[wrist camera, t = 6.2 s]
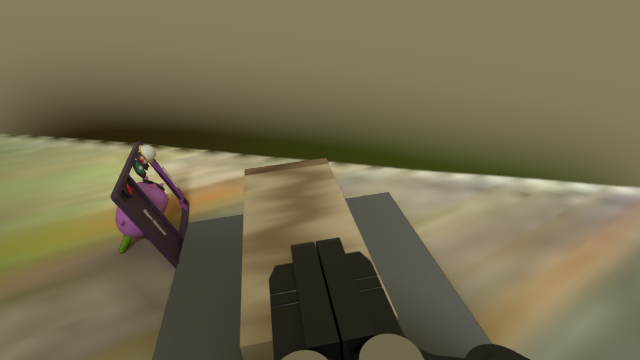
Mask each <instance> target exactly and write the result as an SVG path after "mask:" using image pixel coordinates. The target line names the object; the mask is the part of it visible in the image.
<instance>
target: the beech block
mask: <svg viewBox="0 0 640 360" xmlns="http://www.w3.org/2000/svg"><path fill="white" fill-rule="evenodd" d="M337 237H339V238H340V240H341V242H342V245H343V248H344V251H345V253H351V252H357V251H360V252H361V253H362V254H363V255H364V256H366V257H367V258H368V259H369V260H370V261H371V262H372V264H373V266H374V269H375V271H376V273H377V277H378V278H379V280H380V282H381V284H382V288H383V289H384V291H385V293H386V296H387V298H388V300H389V302H390V305H391V307H392V309H393V311H394V314H395V316H396V318H397V320H398V316H397V314H396V311H395V309H394V307H393V305H392V303H391V300H390V298H389V296H388V294H387V292H386V289H385V287H384V285H383V283H382V280H381V278H380V276H379V274H378V272H377V269H376V267H375V265H374V263H373V261H372V258H371V256H370V254H369V252H368V250H367V247H366V245H365V243H364V241H363V238H362V236H361V234H360V232H359V230H358V227H357V225H356V223H355V221H354V219H353V216H352V214H351V212H350V210H349V208H348V205H347V203H346V201H345V199H344V196H343V194H342V192H341V190H340V188H339V185H338V183H337V181H336V179H335V177H334V174H333V172H332V170H331V168H330V166H329V163H328V161H327V159H326V158H323V159H315V160H308V161H301V162H294V163H287V164H280V165H273V166H265V167H258V168H251V169H245V179H244V215H243V251H242V287H241V323H240V350H241V353H242V357H243V360H274V354H273V338H272V323H271V306H270V291H269V278H270V275H271V273H272V271H273V269H274V267H275V266H276V265H282V264H287V263H293V261H292V254H291V247H290V245H295V244H301V243H308V242H314V243H315V247H316V241H319V240H325V239H331V238H337Z"/></svg>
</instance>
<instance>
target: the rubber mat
mask: <svg viewBox="0 0 640 360" xmlns="http://www.w3.org/2000/svg"><path fill="white" fill-rule="evenodd" d="M345 201H346V203H347V205H348V208H349V210H350V212H351V214H352V216H353V219H354V221H355V223H356V225H357V227H358V230H359V232H360V234H361V236H362V238H363V241H364V243H365V245H366V247H367V250H368V252H369V254H370V256H371V258H372V261H373V263H374V265H375V267H376V269H377V272H378V274H379V276H380V278H381V280H382V283H383V285H384V287H385V289H386V292H387V294H388V296H389V298H390V300H391V303H392V305H393V307H394V309H395V311H396V314H397V316H398V323H399V325H400V327H401V329H402V331H403V333H404V335H405V336H406V338H407V339H408V340H409V341H411V342H412V343H413V344H414V345H415V346H416V347H418V348H419V349H421V350H423V351H425V352H428V353H431V354H434V355H440V356H449V357H458V358H465V357H466V355H467V353H468V352H469V351H470V350H471V349H472V348H474V347H476V346H478V345H482V344H492V343H491V341H490V340H489V339H488V337H487V336H486V334H485V333H484V331H483V330H482V328H481V327H480V325H479V324H478V322H477V321H476V320H475V318H474V317H473V315H472V314H471V312H470V311H469V309H468V308H467V306H466V305H465V303H464V302H463V301H462V299H461V298H460V296H459V295H458V293H457V292H456V290H455V289H454V287H453V286H452V284H451V283H450V281H449V280H448V279H447V277H446V276H445V274H444V273H443V271H442V270H441V268H440V267H439V265H438V264H437V262H436V261H435V260H434V258H433V257H432V255H431V254H430V252H429V251H428V249H427V248H426V246H425V245H424V243H423V242H422V241H421V239H420V238H419V236H418V235H417V233H416V232H415V230H414V229H413V227H412V226H411V224H410V223H409V222H408V220H407V219H406V217H405V216H404V214H403V213H402V211H401V210H400V208H399V207H398V205H397V204H396V202H395V201H394V200H393V198H392V197H391V195H390V194H389V192H387V193H380V194H374V195H367V196H361V197H354V198H348V199H345ZM242 251H243V215H237V216H231V217H224V218H218V219H211V220H205V221H198V222H192V223H188V226H187V230H186V233H185V237H184V241H183V245H182V249H181V252H180V256H179V260H178V261H179V264H177V268H176V271H175V275H174V279H173V283H172V287H171V290H170V294H169V298H168V302H167V306H166V309H165V313H164V317H163V321H162V325H161V328H160V332H159V336H158V340H157V344H156V347H155V351H154V355H153V359H152V360H243V357H242V353H241V350H240V323H241V287H242Z"/></svg>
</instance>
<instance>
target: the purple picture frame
mask: <svg viewBox="0 0 640 360" xmlns="http://www.w3.org/2000/svg"><path fill="white" fill-rule="evenodd" d="M138 151H140V152H138ZM155 156H156V152H155V150H154V148H153V147H151V146H149V145H143V144H142V143H141V142H140V141H138V142H137V143H135V144H134V146H133V148H132V150H131V153H130V155H129V157H128V159H127V161H126V163H125V166H124V168H123V170H122V172H121V174H120V176H119V179H118V181H117V183H116V185H115V187H114V190H113V192H112V194H111V199H112V201H113V202H114V203H115V204H116V205H117V206H118V207H117V211H116V224H117V227H118V229H119V230H120V231H121V232H122V233H123V234H124V238H123V241H122V243H121V244H120V248H119V250H118V251H119V252H120V253H124V252H125V250H126V248H127V247H128V244H129V243H130V241H131V240H132V239H133V238H137V237H143V236H146V237H147V238H148V239H149V240H150V241H151V242H152V243H153V245H154V246H155V247H156V248H157V249H158V250H159V251H160V252H161V253H162V254H163V255H164V256H165V257H166V258H167V260H168V261H169V262H170V263H171V264H172V265H173V266H174V267H175V268H177V264H179V261H178V260H179V256H180V252H181V249H182V245H183V241H184V237H185V233H186V230H187V226H188V213H189V203H188V201H187V200H186V198H185V197H184V195H183V193H182V191H181V190H180V189H179V187H178V186H177V184H176V183H175V182H174V181H173V179H172V178H171V176H170V175H169V174H168V173H167V172H166V170H165V168H164V167H163V166H162V168H161V167H160V165H159V164H158V163H157V162H156V160H155V159H154V158H155ZM135 158H136V159H137V160H135ZM147 162H148V163H150V164H151V166H152V167H153V168H154V169H155V171H156V172H157V173H158V174H159V176H160V177H161V178H162V179H163V181H164V182H165V183H166V184H167V185H168V187H169V188H170V189H171V190H172V192H173V193H174V194H175V195H176V197H177V198H178V199H179V200H180V202H179V203H180V205H181V206H182V216H181V226H180V233H179V232H178V231H177V230H176V229H175V228H174V226H173V225H172V224H171V223H170V222H169V221H168V219H167V218H166V217H165V216H164V215H163V214H164V212H165V209H166V207H167V203H168V200H169V199H168V198H167V196H168V195H169V194H167V195H166V194H165V192H164V191H163V190H165V189H164V188H163V187H162V186H163V183H162V184H160V185H159V184H157V183H155V182H152V181H149V180H148V177H146V172H145V170H148V167H149V165H148V163H147ZM132 166H133V168H134V170H135V172H136V173H137V174H138V175H139V176H140V177H142V178H143V180H142V181H143V182H138V183H136V182H135V181H134V180H133V179H132V178H131V176H130V175H129V173H130V170H131V168H132ZM144 169H145V170H144ZM163 169H164V170H163ZM145 177H146V178H145ZM154 183H155V184H154Z"/></svg>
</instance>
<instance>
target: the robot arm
mask: <svg viewBox="0 0 640 360" xmlns="http://www.w3.org/2000/svg"><path fill="white" fill-rule="evenodd" d="M290 247H291V254H292V261H293V263H287V264H282V265H276V266H275V267H274V269H273V271H272V273H271V275H270V278H269V291H270V306H271V323H272V338H273V354H274V360H530V359H528V358H526V357H524V356H522V355H520V354H518V353H516V352H514V351H513V350H511V349H508V348H506V347H503V346H500V345H495V344H482V345H478V346H476V347H474V348H472V349H471V350H470V351H469V352H468V353H467V355H466V357H465V358H458V357H449V356H440V355H434V354H431V353H428V352H425V351H423V350H421V349H419V348H418V347H416V346H415V345H414V344H413V343H412V342H411V341H409V340H408V339H407V338H406V336H405V335H404V333H403V331H402V329H401V327H400V325H399V323H398V320H397V318H396V316H395V314H394V311H393V309H392V307H391V305H390V302H389V300H388V298H387V296H386V293H385V291H384V289H383V288H382V284H381V282H380V280H379V278H378V277H377V273H376V271H375V269H374V266H373V264H372V262H371V261H370V260H369V259H368V258H367V257H366V256H364V255H363V254H362V253H361V252H360V251H357V252H351V253H345V251H344V248H343V245H342V242H341V240H340V238H339V237H337V238H331V239H325V240H319V241H316V247H315V243H314V242H308V243H301V244H295V245H290Z"/></svg>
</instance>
